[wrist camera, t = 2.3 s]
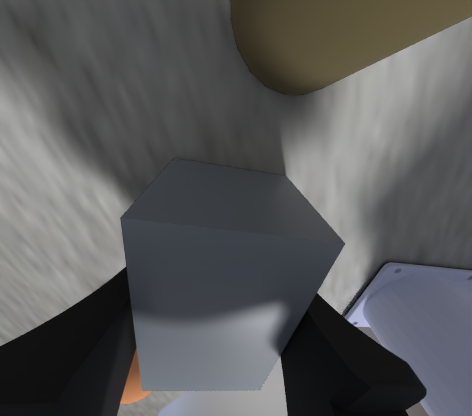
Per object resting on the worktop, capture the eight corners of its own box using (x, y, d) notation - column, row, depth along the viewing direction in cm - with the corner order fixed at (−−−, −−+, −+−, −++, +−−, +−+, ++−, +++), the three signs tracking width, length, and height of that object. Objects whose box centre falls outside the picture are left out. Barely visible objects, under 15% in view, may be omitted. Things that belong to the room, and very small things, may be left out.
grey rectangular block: (286, 176, 11) (345, 243, 6) (247, 295, 16) (260, 390, 11) (173, 157, 10) (120, 217, 5) (170, 290, 15) (142, 391, 10)
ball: (177, 309, 16) (160, 386, 12) (175, 341, 19) (161, 414, 14) (115, 306, 16) (73, 386, 11) (121, 339, 18) (88, 416, 13)
